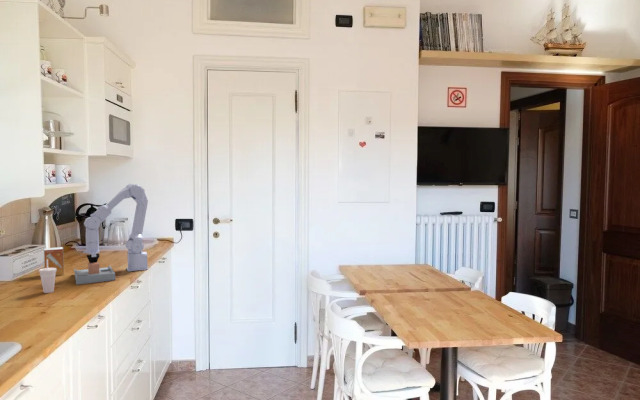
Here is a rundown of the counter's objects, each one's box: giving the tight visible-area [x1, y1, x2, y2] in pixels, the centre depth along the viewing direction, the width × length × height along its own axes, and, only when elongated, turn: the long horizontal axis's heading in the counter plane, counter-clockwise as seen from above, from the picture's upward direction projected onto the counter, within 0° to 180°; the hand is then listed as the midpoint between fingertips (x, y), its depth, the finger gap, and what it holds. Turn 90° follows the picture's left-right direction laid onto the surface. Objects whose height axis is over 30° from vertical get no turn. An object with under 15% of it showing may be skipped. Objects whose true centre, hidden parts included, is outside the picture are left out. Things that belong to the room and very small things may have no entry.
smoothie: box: [38, 259, 57, 294], centre depth 186 cm, size 6×6×14 cm
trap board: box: [73, 265, 116, 285], centre depth 211 cm, size 16×22×3 cm
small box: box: [43, 246, 65, 277], centre depth 216 cm, size 8×6×13 cm
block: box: [87, 261, 100, 274], centre depth 212 cm, size 4×4×4 cm
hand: (93, 269), depth 215 cm, fingers closed
